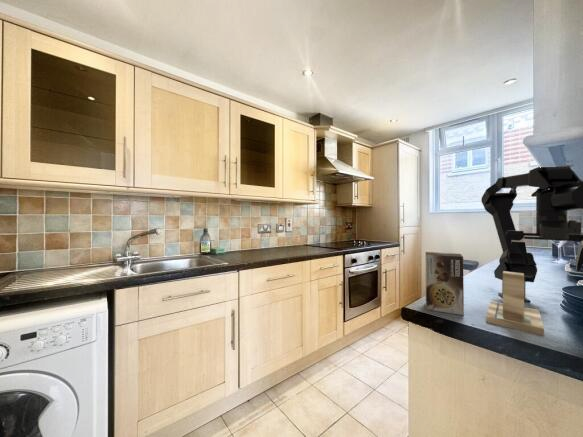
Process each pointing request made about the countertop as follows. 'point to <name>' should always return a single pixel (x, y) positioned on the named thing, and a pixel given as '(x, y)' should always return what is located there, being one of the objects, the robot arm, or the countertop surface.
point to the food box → (444, 282)
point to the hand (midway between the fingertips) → (551, 268)
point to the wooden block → (513, 296)
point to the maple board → (529, 325)
